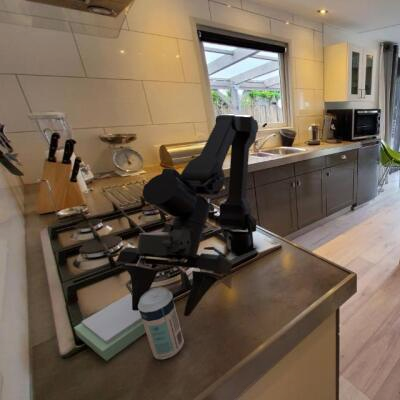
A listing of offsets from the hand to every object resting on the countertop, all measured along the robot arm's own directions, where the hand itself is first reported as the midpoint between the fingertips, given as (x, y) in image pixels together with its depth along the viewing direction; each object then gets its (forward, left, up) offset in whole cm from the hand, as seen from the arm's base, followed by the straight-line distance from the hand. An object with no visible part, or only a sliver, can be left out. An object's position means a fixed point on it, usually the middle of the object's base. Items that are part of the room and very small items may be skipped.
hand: (160, 313), depth 42 cm
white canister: (0, 0, -8) cm, 8 cm away
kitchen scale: (+5, -11, -8) cm, 14 cm away
